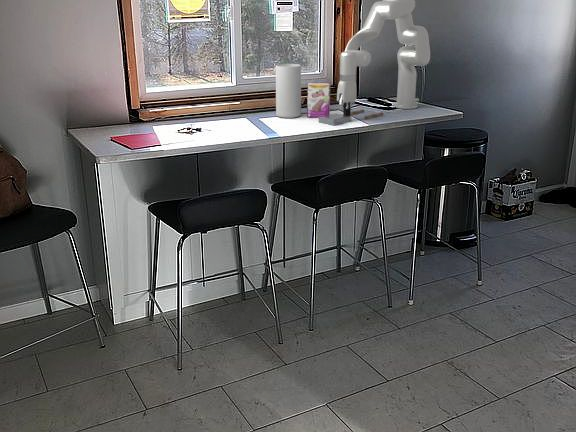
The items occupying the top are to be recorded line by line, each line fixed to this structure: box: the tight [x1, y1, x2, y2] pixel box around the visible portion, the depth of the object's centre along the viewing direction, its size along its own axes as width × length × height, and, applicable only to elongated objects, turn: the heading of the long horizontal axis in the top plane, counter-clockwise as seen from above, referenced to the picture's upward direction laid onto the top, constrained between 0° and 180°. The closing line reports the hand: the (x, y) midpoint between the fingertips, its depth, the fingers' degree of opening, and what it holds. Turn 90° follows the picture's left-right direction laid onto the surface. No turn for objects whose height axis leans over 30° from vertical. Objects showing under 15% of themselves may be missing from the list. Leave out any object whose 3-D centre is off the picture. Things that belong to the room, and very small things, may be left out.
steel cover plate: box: [318, 113, 352, 126], centre depth 304 cm, size 12×10×3 cm
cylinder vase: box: [275, 63, 302, 119], centre depth 315 cm, size 12×12×25 cm
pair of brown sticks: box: [350, 109, 384, 120], centre depth 318 cm, size 14×13×2 cm
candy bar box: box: [306, 82, 331, 119], centre depth 313 cm, size 11×5×16 cm, turn 84°
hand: (346, 116), depth 308 cm, fingers closed
